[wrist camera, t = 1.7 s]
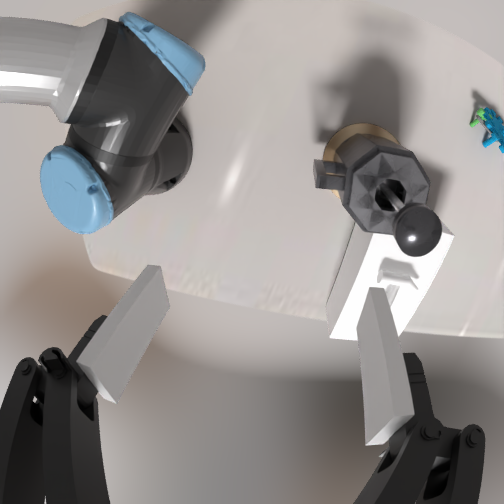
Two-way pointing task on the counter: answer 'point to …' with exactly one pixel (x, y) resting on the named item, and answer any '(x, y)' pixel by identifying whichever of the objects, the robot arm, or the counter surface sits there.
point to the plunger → (409, 220)
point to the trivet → (349, 132)
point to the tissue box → (381, 279)
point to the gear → (491, 126)
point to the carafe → (371, 178)
